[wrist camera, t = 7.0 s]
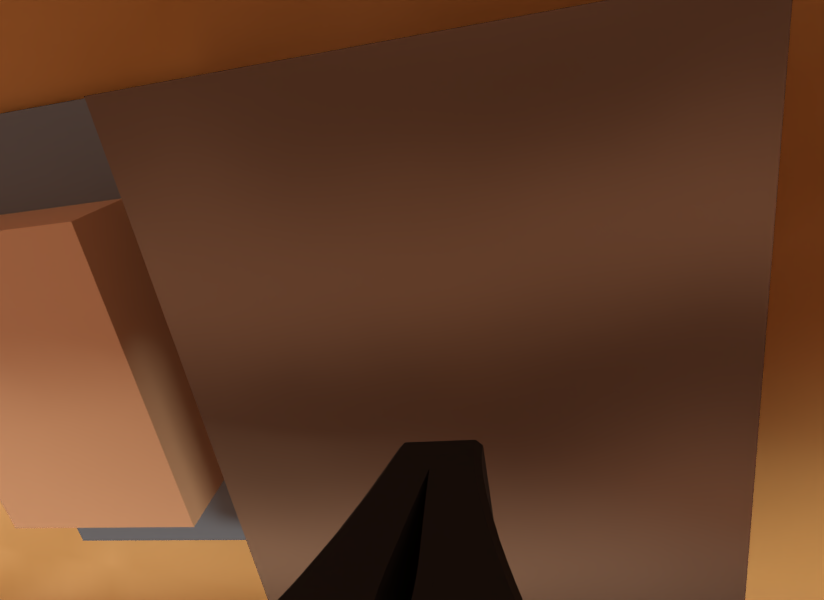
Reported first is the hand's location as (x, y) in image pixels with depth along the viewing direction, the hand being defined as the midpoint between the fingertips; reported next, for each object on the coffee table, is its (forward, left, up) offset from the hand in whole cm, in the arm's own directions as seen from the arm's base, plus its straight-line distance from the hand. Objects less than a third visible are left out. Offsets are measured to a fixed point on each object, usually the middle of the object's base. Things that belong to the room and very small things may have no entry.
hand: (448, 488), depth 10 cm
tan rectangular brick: (0, +11, -4) cm, 12 cm away
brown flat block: (0, 0, -6) cm, 6 cm away
